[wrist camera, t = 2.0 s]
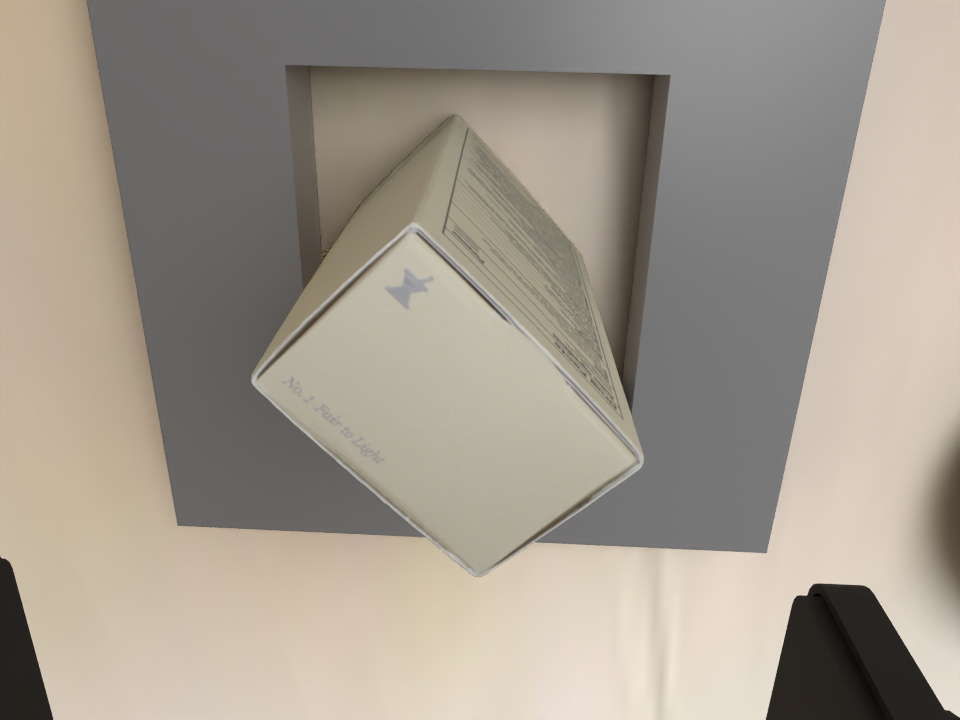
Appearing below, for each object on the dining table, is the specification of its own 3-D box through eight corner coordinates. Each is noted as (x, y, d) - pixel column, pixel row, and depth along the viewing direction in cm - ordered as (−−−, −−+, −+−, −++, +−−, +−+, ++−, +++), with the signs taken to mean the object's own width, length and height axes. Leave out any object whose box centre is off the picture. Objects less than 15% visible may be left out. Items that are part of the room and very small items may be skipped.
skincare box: (357, 204, 25) (224, 375, 14) (460, 104, 23) (406, 206, 12) (492, 342, 26) (471, 592, 15) (596, 258, 25) (654, 466, 14)
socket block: (108, -149, 21) (57, -166, 19) (874, -136, 20) (918, -153, 18) (204, 484, 29) (177, 525, 27) (747, 508, 29) (766, 553, 26)
